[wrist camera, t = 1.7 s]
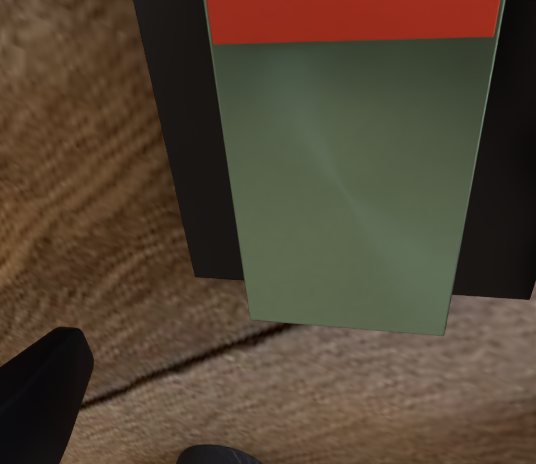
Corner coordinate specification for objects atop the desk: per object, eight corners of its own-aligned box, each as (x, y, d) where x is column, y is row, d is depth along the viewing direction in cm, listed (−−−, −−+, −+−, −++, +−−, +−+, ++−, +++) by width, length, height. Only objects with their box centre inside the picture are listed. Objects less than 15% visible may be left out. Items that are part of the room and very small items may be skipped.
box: (433, 236, 19) (445, 343, 15) (276, 228, 20) (248, 325, 16) (476, -71, 13) (514, -32, 9) (251, -56, 14) (196, -16, 10)
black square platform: (520, 267, 22) (530, 300, 20) (206, 250, 24) (194, 277, 23) (661, -238, 12) (701, -251, 11) (124, -174, 15) (93, -175, 13)
